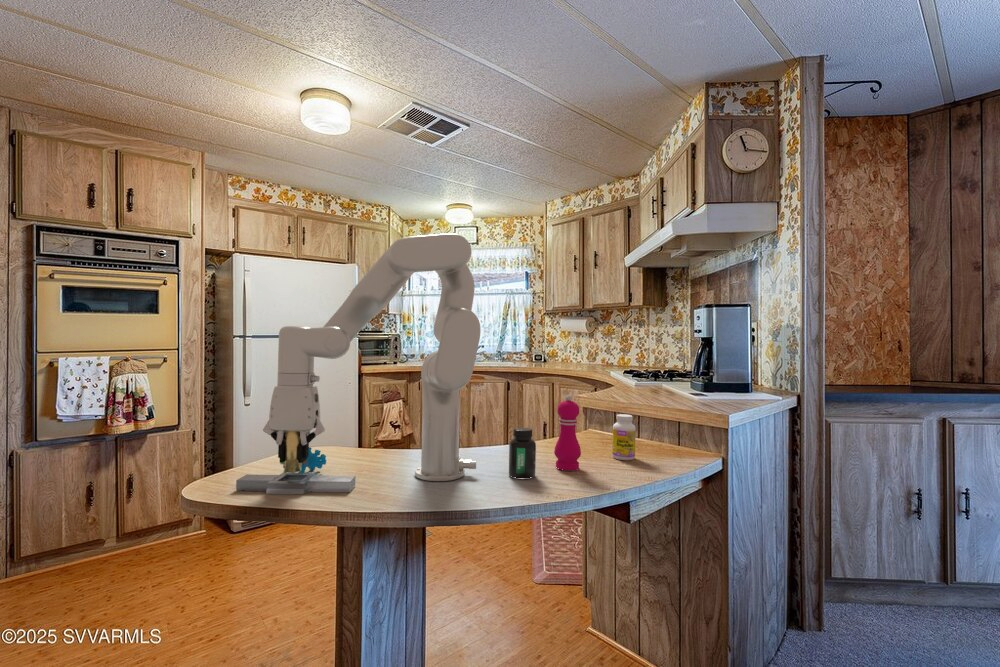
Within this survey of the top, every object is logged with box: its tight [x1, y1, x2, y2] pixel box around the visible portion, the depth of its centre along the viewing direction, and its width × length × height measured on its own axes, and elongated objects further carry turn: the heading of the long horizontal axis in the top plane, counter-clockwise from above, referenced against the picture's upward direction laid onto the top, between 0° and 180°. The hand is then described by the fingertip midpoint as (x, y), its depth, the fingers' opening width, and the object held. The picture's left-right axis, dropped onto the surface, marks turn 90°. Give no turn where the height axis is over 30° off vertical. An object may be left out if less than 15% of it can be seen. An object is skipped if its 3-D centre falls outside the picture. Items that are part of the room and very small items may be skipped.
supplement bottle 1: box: [508, 427, 537, 478], centre depth 120 cm, size 7×7×12 cm
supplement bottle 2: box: [611, 413, 637, 461], centre depth 141 cm, size 7×7×13 cm
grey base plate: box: [235, 472, 357, 495], centre depth 106 cm, size 25×8×2 cm, turn 91°
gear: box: [279, 446, 327, 473], centre depth 117 cm, size 11×6×10 cm
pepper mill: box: [553, 394, 582, 471], centre depth 129 cm, size 7×7×20 cm
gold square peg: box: [285, 431, 302, 473], centre depth 107 cm, size 4×4×10 cm
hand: (293, 460), depth 106 cm, fingers closed on gold square peg, 3 cm apart
